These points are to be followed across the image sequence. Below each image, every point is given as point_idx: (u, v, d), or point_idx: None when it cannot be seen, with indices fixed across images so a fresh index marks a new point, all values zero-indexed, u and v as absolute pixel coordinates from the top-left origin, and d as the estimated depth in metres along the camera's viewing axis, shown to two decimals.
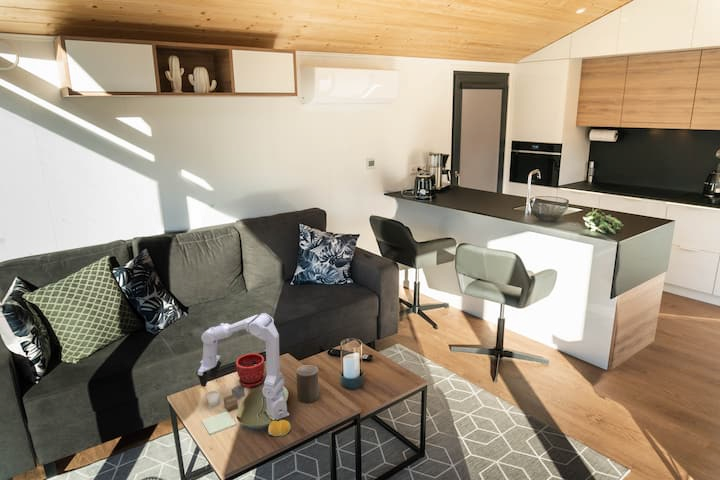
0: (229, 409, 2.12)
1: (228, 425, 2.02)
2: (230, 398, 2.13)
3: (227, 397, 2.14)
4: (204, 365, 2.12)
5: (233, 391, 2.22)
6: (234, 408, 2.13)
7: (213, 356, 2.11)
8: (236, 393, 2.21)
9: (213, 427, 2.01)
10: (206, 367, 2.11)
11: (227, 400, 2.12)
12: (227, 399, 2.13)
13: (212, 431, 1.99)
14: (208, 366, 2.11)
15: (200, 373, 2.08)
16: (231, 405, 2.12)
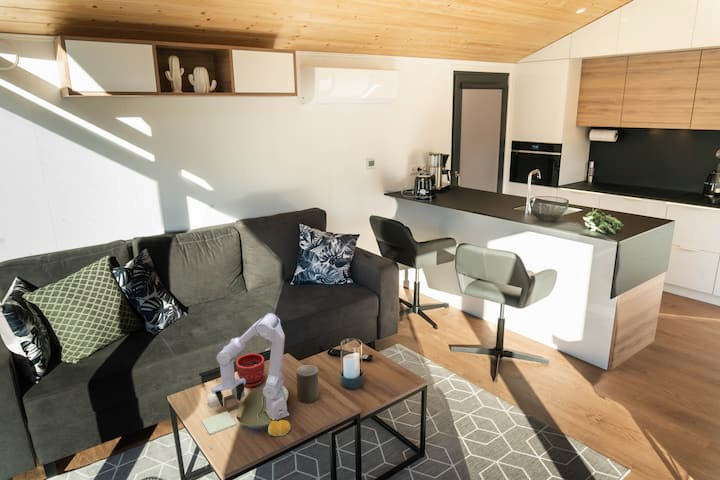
0: (229, 409, 2.12)
1: (228, 425, 2.02)
2: (230, 398, 2.13)
3: (227, 397, 2.14)
4: (221, 385, 2.11)
5: (233, 391, 2.22)
6: (234, 408, 2.13)
7: (231, 376, 2.09)
8: (236, 393, 2.21)
9: (213, 427, 2.01)
10: (222, 387, 2.10)
11: (227, 400, 2.12)
12: (227, 399, 2.13)
13: (212, 431, 1.99)
14: (223, 386, 2.10)
15: (212, 391, 2.08)
16: (231, 405, 2.12)
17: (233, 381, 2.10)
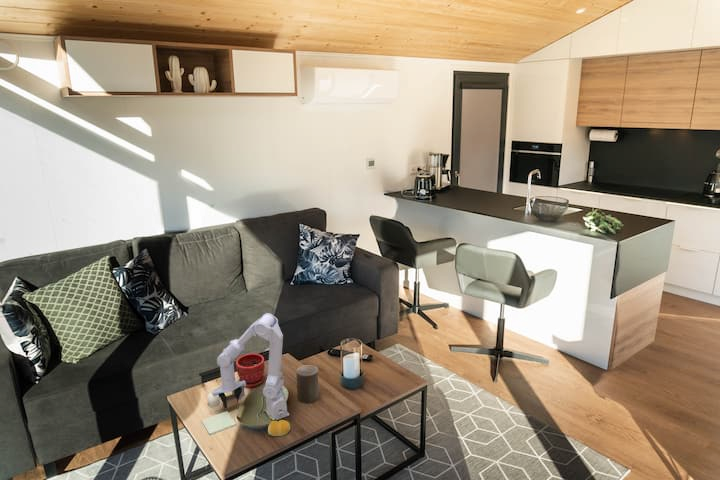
0: (229, 409, 2.12)
1: (228, 425, 2.02)
2: (230, 398, 2.13)
3: (227, 397, 2.14)
4: (222, 387, 2.11)
5: (233, 391, 2.22)
6: (234, 408, 2.13)
7: (232, 378, 2.09)
8: None
9: (213, 427, 2.01)
10: (222, 389, 2.10)
11: (227, 400, 2.12)
12: (227, 399, 2.13)
13: (212, 431, 1.99)
14: (223, 389, 2.10)
15: (212, 394, 2.08)
16: (231, 405, 2.12)
17: (233, 383, 2.11)
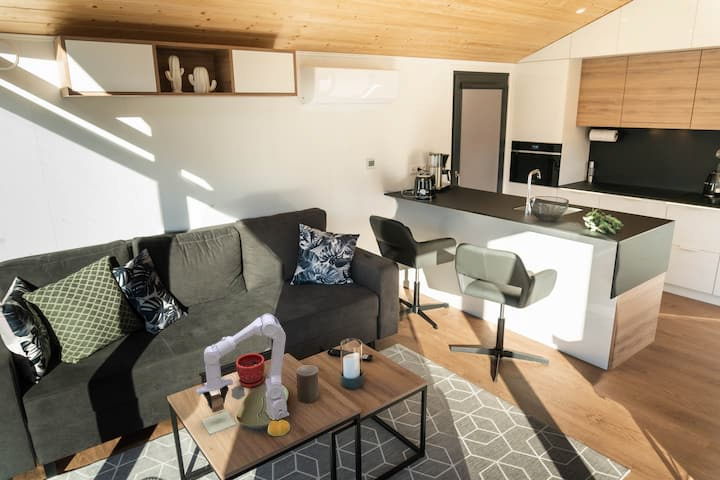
0: (214, 409, 2.00)
1: (228, 425, 2.02)
2: (215, 398, 2.02)
3: (213, 396, 2.02)
4: (207, 386, 1.99)
5: (233, 391, 2.22)
6: (220, 408, 2.01)
7: (220, 375, 1.98)
8: (236, 393, 2.21)
9: (213, 427, 2.01)
10: (207, 388, 1.98)
11: (212, 400, 2.00)
12: (212, 398, 2.01)
13: (212, 431, 1.99)
14: (209, 388, 1.98)
15: (197, 393, 1.96)
16: (216, 405, 2.00)
17: (219, 382, 1.98)
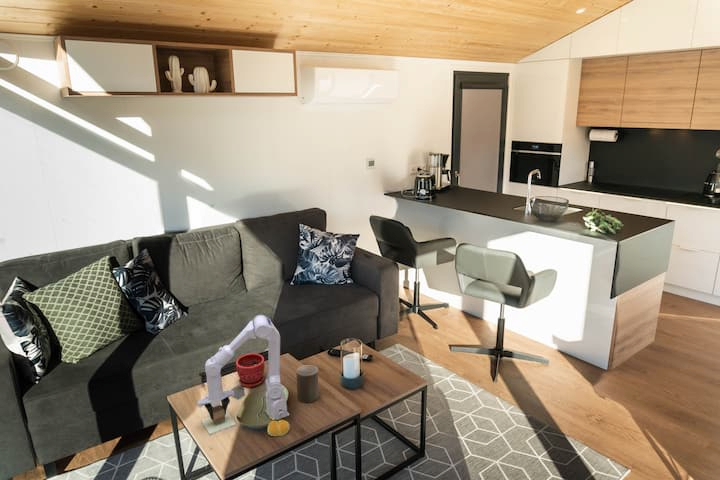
0: (216, 421, 2.02)
1: (228, 425, 2.02)
2: (217, 409, 2.03)
3: (214, 408, 2.04)
4: (208, 397, 2.00)
5: None
6: (221, 419, 2.03)
7: (221, 386, 2.00)
8: (236, 393, 2.21)
9: (213, 427, 2.01)
10: (208, 400, 1.99)
11: (214, 411, 2.02)
12: (214, 410, 2.02)
13: (212, 431, 1.99)
14: (210, 399, 1.99)
15: (198, 404, 1.98)
16: (218, 416, 2.02)
17: (220, 393, 2.00)
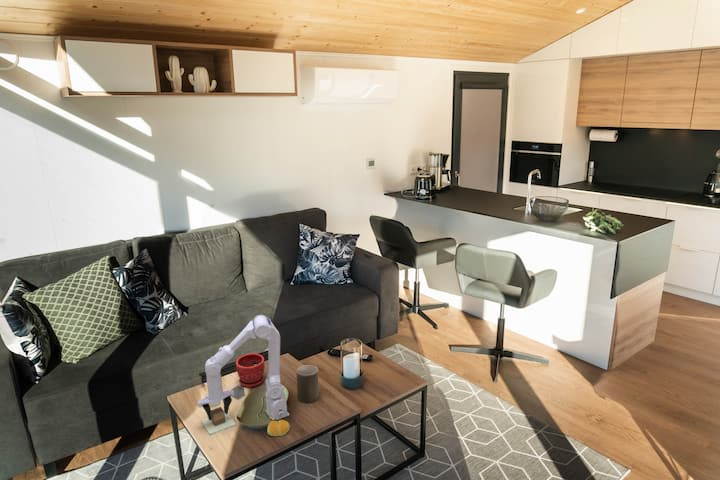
0: (216, 423, 2.02)
1: (228, 425, 2.02)
2: (217, 411, 2.03)
3: (214, 410, 2.04)
4: (208, 397, 2.00)
5: None
6: (221, 422, 2.03)
7: (221, 386, 2.00)
8: (236, 393, 2.21)
9: (213, 427, 2.01)
10: (208, 400, 1.99)
11: (214, 413, 2.02)
12: (214, 412, 2.03)
13: (212, 431, 1.99)
14: (210, 399, 1.99)
15: (198, 404, 1.98)
16: (218, 418, 2.02)
17: (220, 393, 2.00)
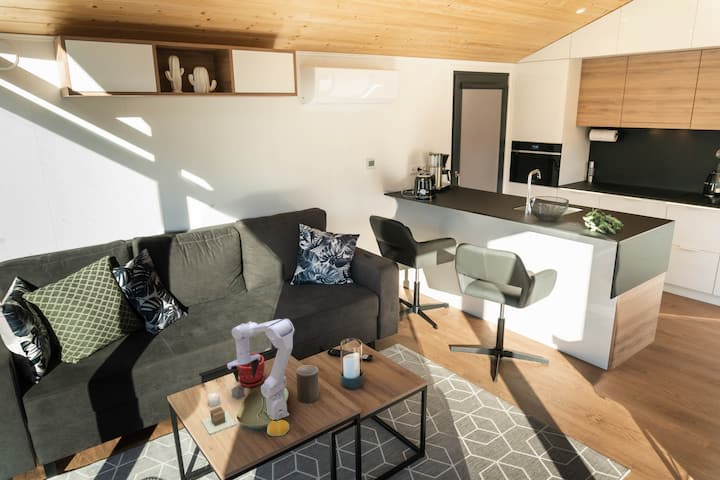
0: (216, 423, 2.02)
1: (228, 425, 2.02)
2: (217, 411, 2.03)
3: (214, 410, 2.04)
4: (237, 360, 2.15)
5: (233, 391, 2.22)
6: (221, 422, 2.03)
7: (244, 352, 2.13)
8: (236, 393, 2.21)
9: (213, 427, 2.01)
10: (237, 362, 2.14)
11: (214, 413, 2.02)
12: (214, 412, 2.03)
13: (212, 431, 1.99)
14: (239, 362, 2.14)
15: (228, 366, 2.13)
16: (218, 418, 2.02)
17: (248, 356, 2.15)
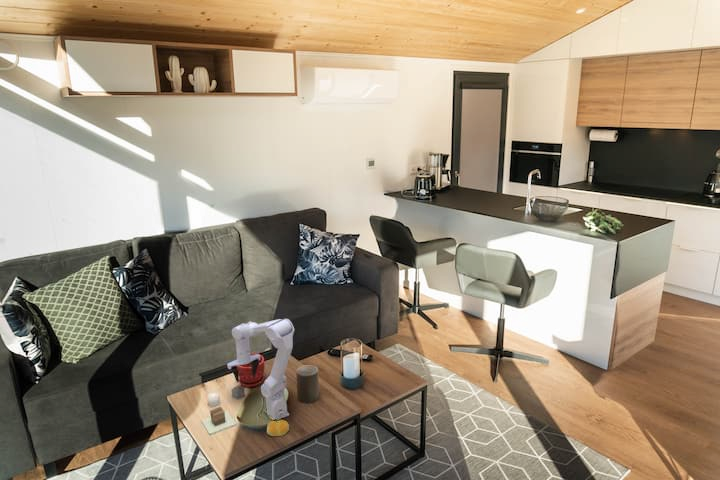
0: (216, 423, 2.02)
1: (228, 425, 2.02)
2: (217, 411, 2.03)
3: (214, 410, 2.04)
4: (237, 360, 2.15)
5: (233, 391, 2.22)
6: (221, 422, 2.03)
7: (244, 352, 2.13)
8: (236, 393, 2.21)
9: (213, 427, 2.01)
10: (237, 362, 2.14)
11: (214, 413, 2.02)
12: (214, 412, 2.03)
13: (212, 431, 1.99)
14: (239, 362, 2.14)
15: (228, 366, 2.13)
16: (218, 418, 2.02)
17: (248, 356, 2.15)
